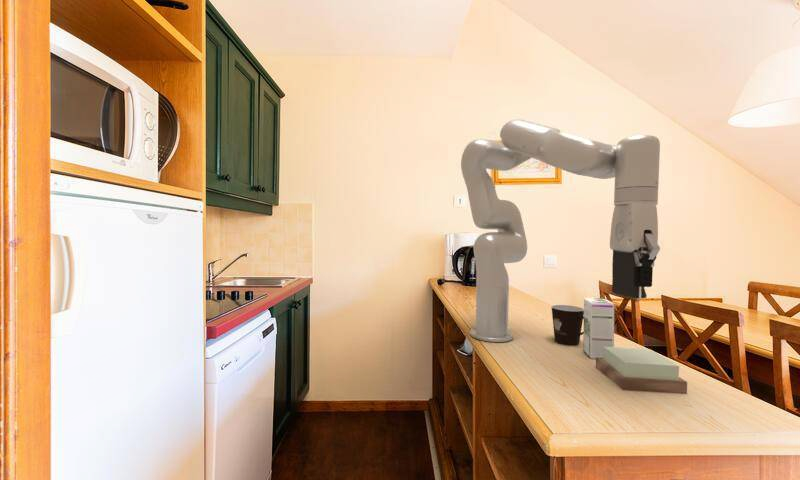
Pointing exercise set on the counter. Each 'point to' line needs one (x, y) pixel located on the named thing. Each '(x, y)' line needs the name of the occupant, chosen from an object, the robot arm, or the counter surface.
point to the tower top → (640, 363)
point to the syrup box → (598, 326)
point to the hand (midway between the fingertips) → (632, 282)
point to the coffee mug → (567, 324)
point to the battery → (625, 275)
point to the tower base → (641, 381)
